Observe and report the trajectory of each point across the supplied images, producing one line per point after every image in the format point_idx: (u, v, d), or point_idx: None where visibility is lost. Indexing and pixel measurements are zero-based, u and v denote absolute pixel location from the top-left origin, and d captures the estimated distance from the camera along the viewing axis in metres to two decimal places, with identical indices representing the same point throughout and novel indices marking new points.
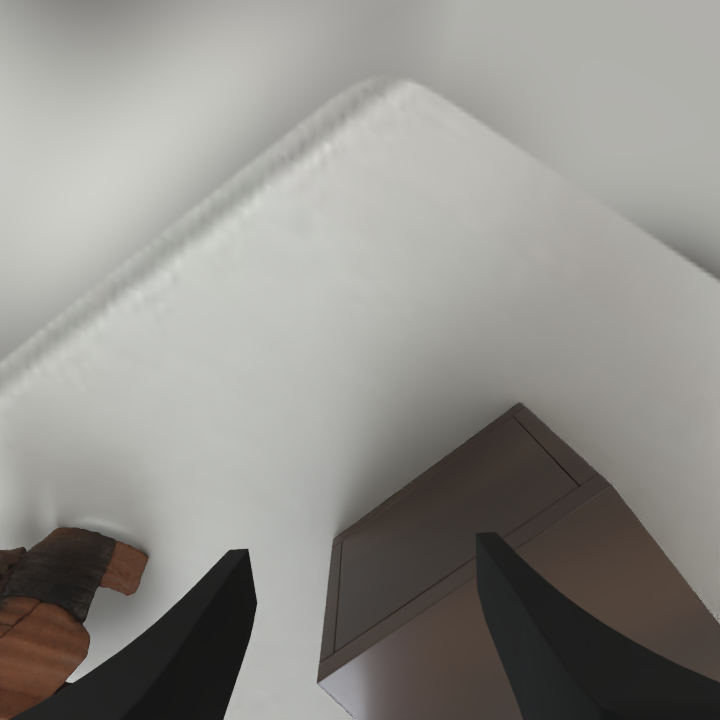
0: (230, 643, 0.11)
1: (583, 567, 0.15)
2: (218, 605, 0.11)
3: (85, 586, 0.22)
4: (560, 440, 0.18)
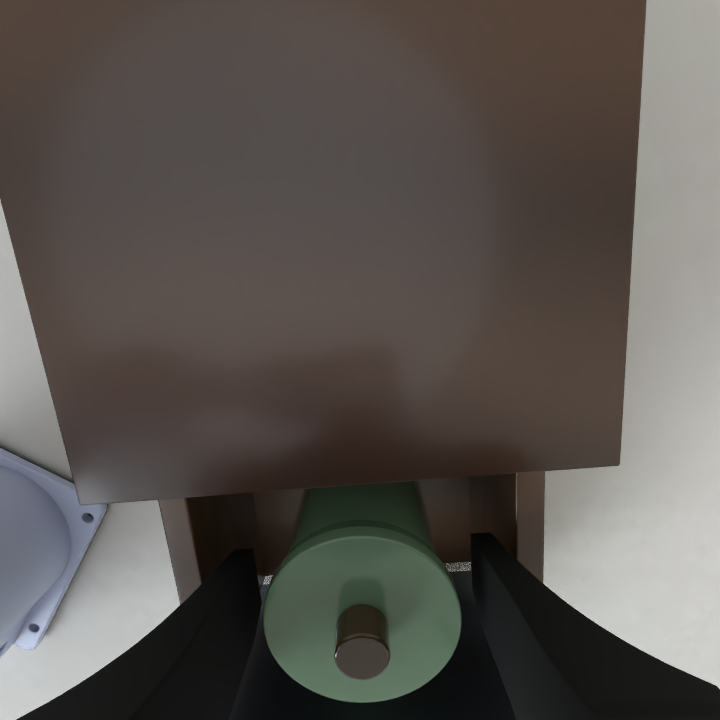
0: (236, 643, 0.11)
1: None
2: (224, 605, 0.11)
3: None
4: None
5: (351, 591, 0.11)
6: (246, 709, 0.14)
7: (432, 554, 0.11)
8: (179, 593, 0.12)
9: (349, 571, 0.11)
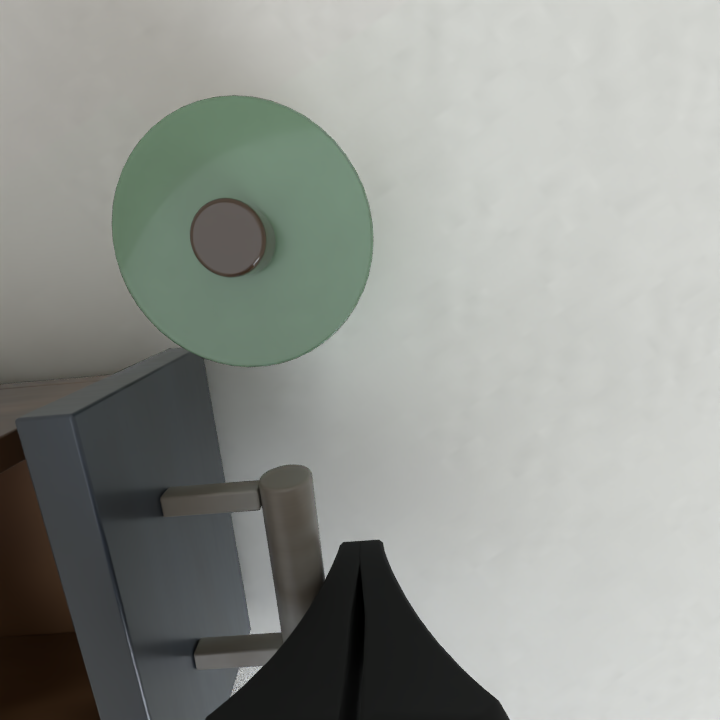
0: (362, 635, 0.11)
1: None
2: (356, 596, 0.11)
3: None
4: None
5: (192, 254, 0.09)
6: None
7: (146, 146, 0.09)
8: None
9: (163, 257, 0.09)
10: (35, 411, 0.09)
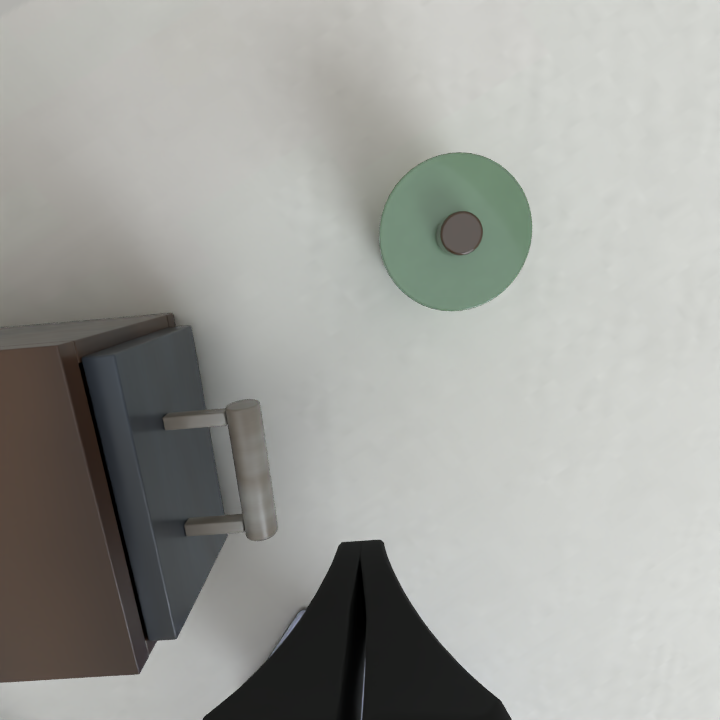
0: (360, 635, 0.11)
1: None
2: (355, 596, 0.11)
3: None
4: None
5: (425, 243, 0.15)
6: None
7: (401, 179, 0.15)
8: None
9: (408, 244, 0.15)
10: (91, 354, 0.15)
